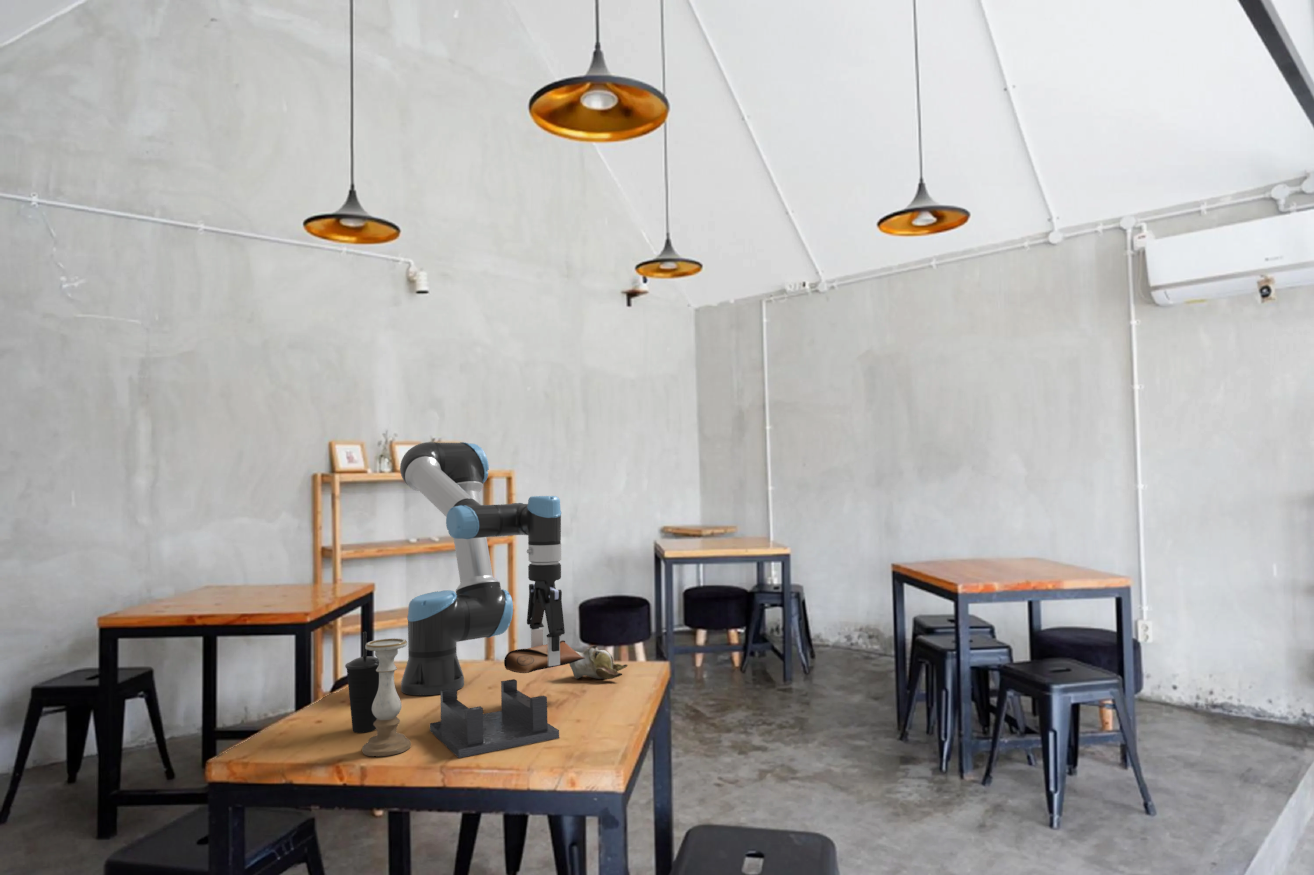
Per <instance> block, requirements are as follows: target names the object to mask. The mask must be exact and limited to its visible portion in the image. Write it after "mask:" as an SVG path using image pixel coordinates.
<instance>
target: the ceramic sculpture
mask: <svg viewBox="0 0 1314 875" xmlns="http://www.w3.org/2000/svg"><path fill="white" fill-rule="evenodd" d="M575 651H576V650H575ZM576 652H577V653H578V654H579V655H580V656H582V657H584V658H585V659H581V660H579V661H576V662H573V663H569V664H568V665H569V666H570V669H571V671H572V673H573V676H574V678H575V679H577V680H578V679H580V678H582V677H584V676H585V677H590V678H592V679H597V680H602V679H605V680H612V679H616V678H618V677H620V676H623V673H622V672H619V671H621V670H624V669H626V668H627V667H628V666H629V665H628V664H626V663H625V664H619V663H616V662H614V656H613V655H612V654H611V652H610V651H608V650H606V649H599V648H598V645H596V644H595V645H594V644H593V645H591V646H590V647H587V648H586V650H585V651H584V652H579V651H576Z"/></svg>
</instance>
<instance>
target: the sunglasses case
mask: <svg viewBox="0 0 1314 875" xmlns="http://www.w3.org/2000/svg"><path fill="white" fill-rule="evenodd" d="M577 652H578V651H577ZM577 652H576V650H574V648H572V647H571V646H570V645H568V643H566V641H565V640H560V665H556V666H548V643H547V644H543V645H541V646H536V647H532V648H531V647H527V648H518V649H514V650H511V651H509V652H508V653H506V654H505V656H504V660H503V661H504V662H503V665H504V668H505V670H507V671H509V672H512V673H513V672H514V673H518V674H529V673H532V672H536V671H540V670H546V669H551V668H555V667H559V666H566V665H570V664H569V663H573V662H576V661H579V660H581V659H585V658H584V657H582V656H580V655H579V654H578V653H577Z"/></svg>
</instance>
